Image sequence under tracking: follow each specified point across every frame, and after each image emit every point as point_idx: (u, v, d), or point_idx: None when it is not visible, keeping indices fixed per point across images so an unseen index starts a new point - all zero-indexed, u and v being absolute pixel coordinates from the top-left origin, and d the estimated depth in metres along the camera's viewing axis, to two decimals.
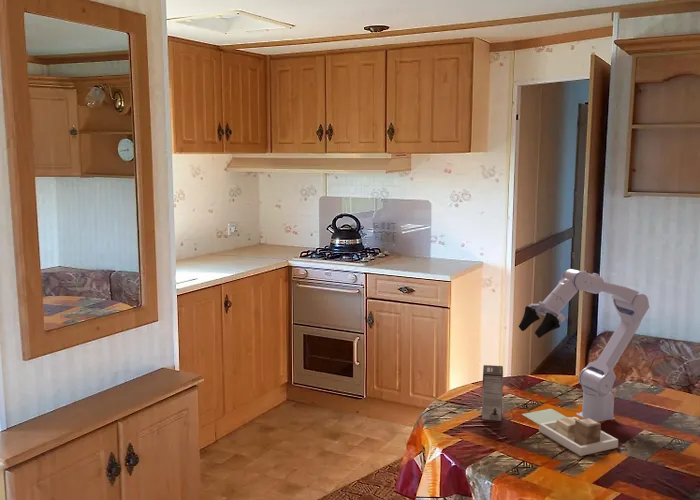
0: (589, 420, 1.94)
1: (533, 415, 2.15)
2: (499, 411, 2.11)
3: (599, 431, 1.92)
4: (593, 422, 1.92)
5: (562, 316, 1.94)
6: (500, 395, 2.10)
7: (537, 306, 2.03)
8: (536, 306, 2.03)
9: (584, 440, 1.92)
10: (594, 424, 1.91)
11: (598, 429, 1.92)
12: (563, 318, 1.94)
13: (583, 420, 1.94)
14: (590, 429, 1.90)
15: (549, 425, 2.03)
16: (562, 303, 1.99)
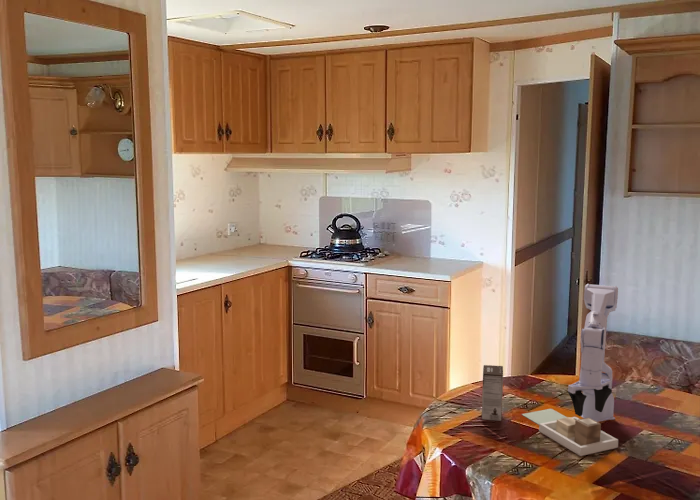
0: (589, 420, 1.94)
1: (533, 415, 2.15)
2: (499, 411, 2.11)
3: (599, 431, 1.92)
4: (593, 422, 1.92)
5: None
6: (500, 395, 2.10)
7: None
8: None
9: (584, 440, 1.92)
10: (594, 424, 1.91)
11: (598, 429, 1.92)
12: None
13: (583, 420, 1.94)
14: (590, 429, 1.90)
15: (549, 425, 2.03)
16: None
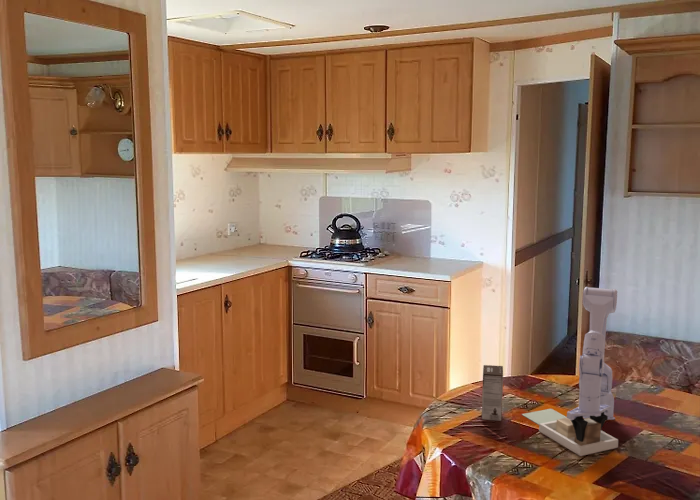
0: (589, 420, 1.94)
1: (533, 415, 2.15)
2: (499, 411, 2.11)
3: (599, 431, 1.92)
4: (593, 422, 1.92)
5: None
6: (500, 395, 2.10)
7: None
8: None
9: (584, 440, 1.92)
10: (594, 424, 1.91)
11: (598, 429, 1.92)
12: None
13: None
14: (590, 429, 1.90)
15: (549, 425, 2.03)
16: None
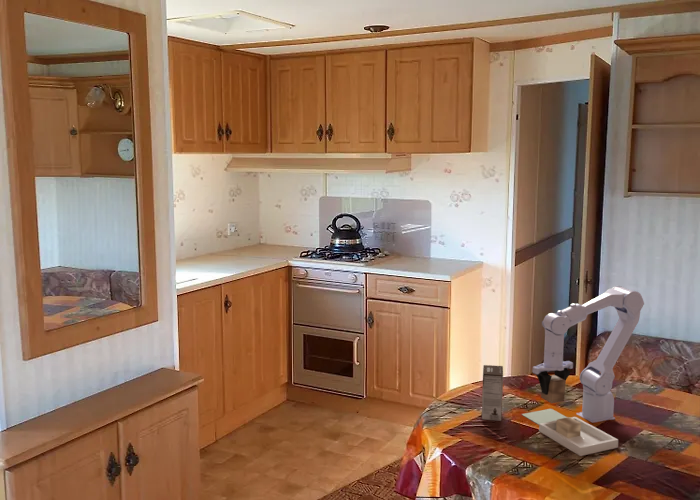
0: (555, 377, 2.10)
1: (533, 415, 2.15)
2: (499, 411, 2.11)
3: (564, 386, 2.08)
4: (558, 378, 2.08)
5: None
6: (500, 395, 2.10)
7: None
8: None
9: (549, 395, 2.07)
10: (559, 380, 2.07)
11: (562, 385, 2.07)
12: None
13: None
14: (555, 385, 2.06)
15: (549, 425, 2.03)
16: None
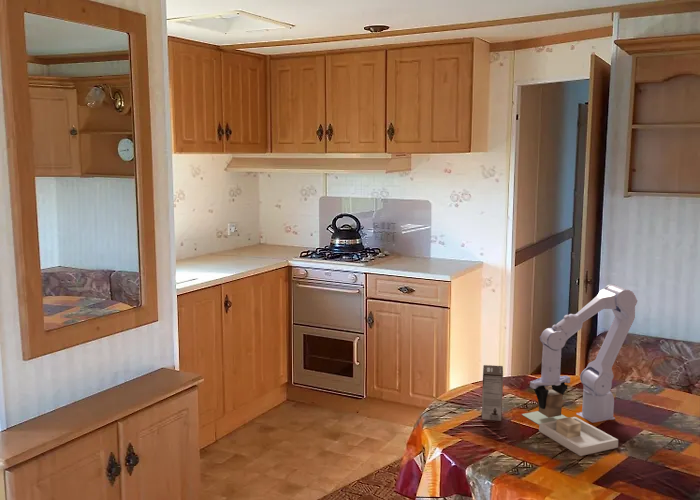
0: (552, 391, 2.11)
1: (533, 415, 2.15)
2: (499, 411, 2.11)
3: (561, 401, 2.10)
4: (556, 393, 2.10)
5: None
6: (500, 395, 2.10)
7: None
8: None
9: (546, 409, 2.09)
10: (556, 395, 2.09)
11: (560, 400, 2.09)
12: None
13: None
14: (552, 400, 2.08)
15: (549, 425, 2.03)
16: None
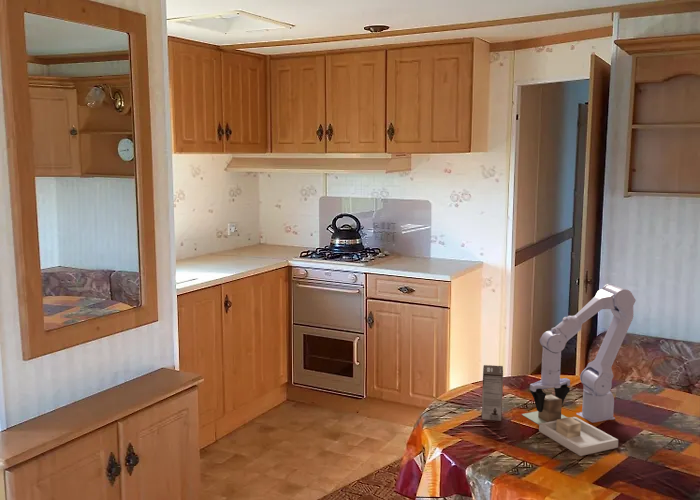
0: (551, 396, 2.12)
1: (533, 415, 2.15)
2: (499, 411, 2.11)
3: (561, 406, 2.10)
4: (555, 398, 2.10)
5: None
6: (500, 395, 2.10)
7: None
8: None
9: (546, 414, 2.10)
10: (555, 400, 2.09)
11: (559, 404, 2.10)
12: None
13: (546, 396, 2.12)
14: (552, 404, 2.08)
15: (549, 425, 2.03)
16: None
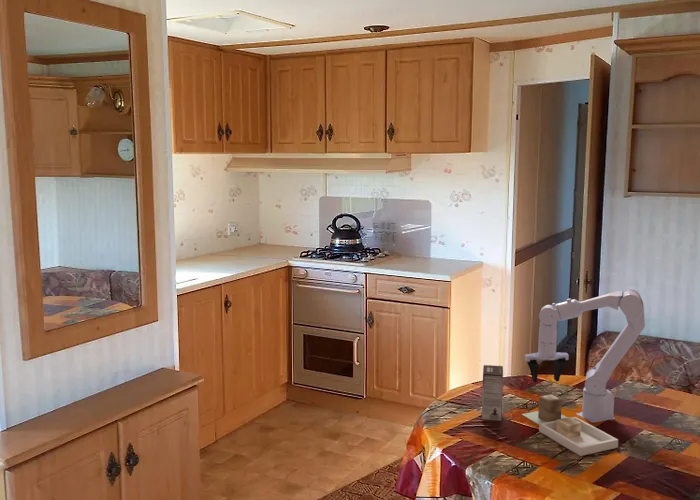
0: (551, 396, 2.12)
1: (533, 415, 2.15)
2: (499, 411, 2.11)
3: (561, 406, 2.10)
4: (555, 398, 2.10)
5: None
6: (500, 395, 2.10)
7: None
8: None
9: (546, 414, 2.10)
10: (555, 400, 2.09)
11: (559, 404, 2.10)
12: None
13: (546, 396, 2.12)
14: (552, 404, 2.08)
15: (549, 425, 2.03)
16: None
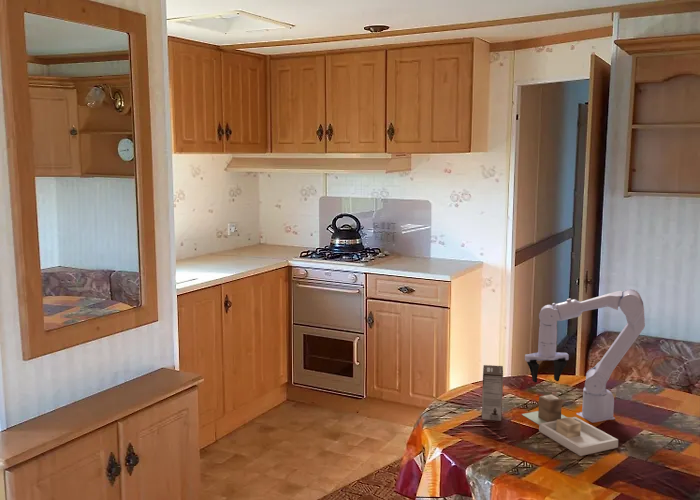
0: (551, 396, 2.12)
1: (533, 415, 2.15)
2: (499, 411, 2.11)
3: (561, 406, 2.10)
4: (555, 398, 2.10)
5: None
6: (500, 395, 2.10)
7: None
8: None
9: (546, 414, 2.10)
10: (555, 400, 2.09)
11: (559, 404, 2.10)
12: None
13: (546, 396, 2.12)
14: (552, 404, 2.08)
15: (549, 425, 2.03)
16: None
